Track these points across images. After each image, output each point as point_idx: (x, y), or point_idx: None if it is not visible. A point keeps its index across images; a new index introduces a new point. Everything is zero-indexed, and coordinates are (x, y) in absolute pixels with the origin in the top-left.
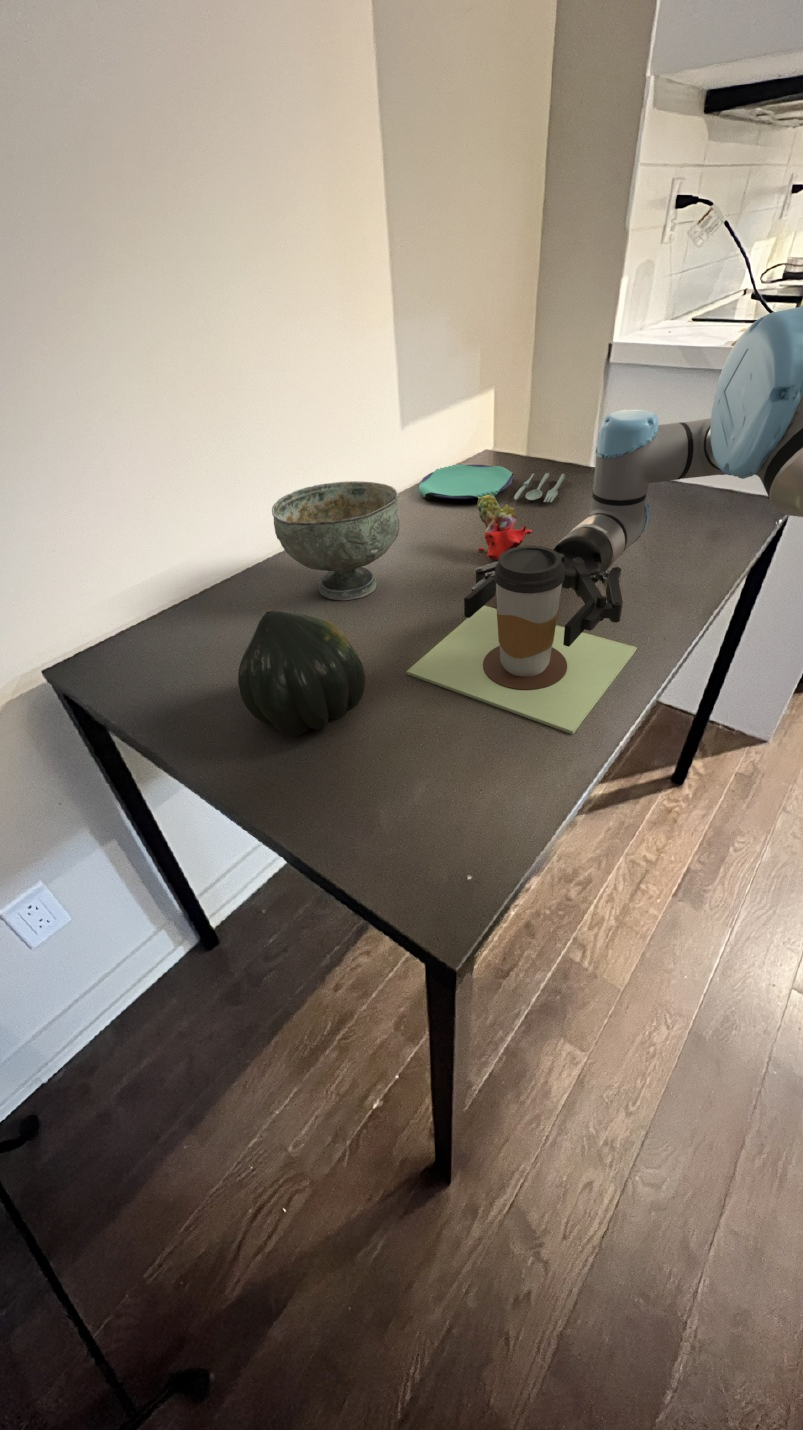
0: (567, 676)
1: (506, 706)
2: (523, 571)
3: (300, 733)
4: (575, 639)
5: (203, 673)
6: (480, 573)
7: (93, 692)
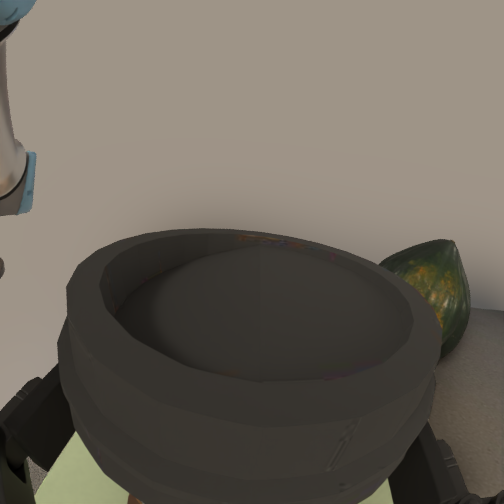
0: (123, 491)
1: None
2: (240, 233)
3: None
4: None
5: (487, 339)
6: (491, 500)
7: (488, 311)
